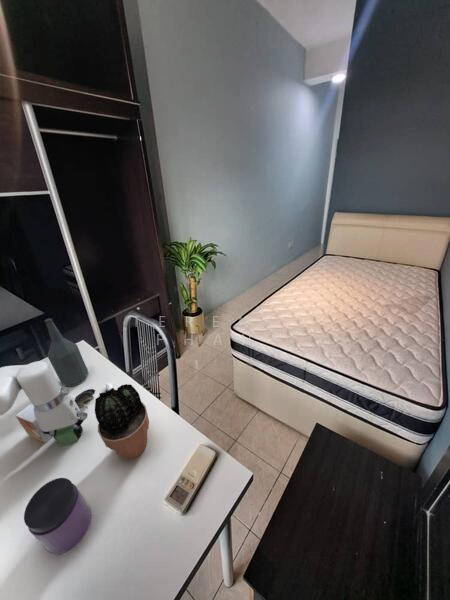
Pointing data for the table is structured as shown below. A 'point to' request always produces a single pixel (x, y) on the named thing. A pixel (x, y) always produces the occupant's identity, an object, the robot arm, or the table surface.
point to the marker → (109, 386)
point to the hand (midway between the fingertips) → (70, 436)
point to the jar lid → (50, 505)
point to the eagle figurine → (84, 397)
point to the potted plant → (122, 421)
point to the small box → (31, 423)
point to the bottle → (65, 358)
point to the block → (66, 435)
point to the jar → (67, 528)
